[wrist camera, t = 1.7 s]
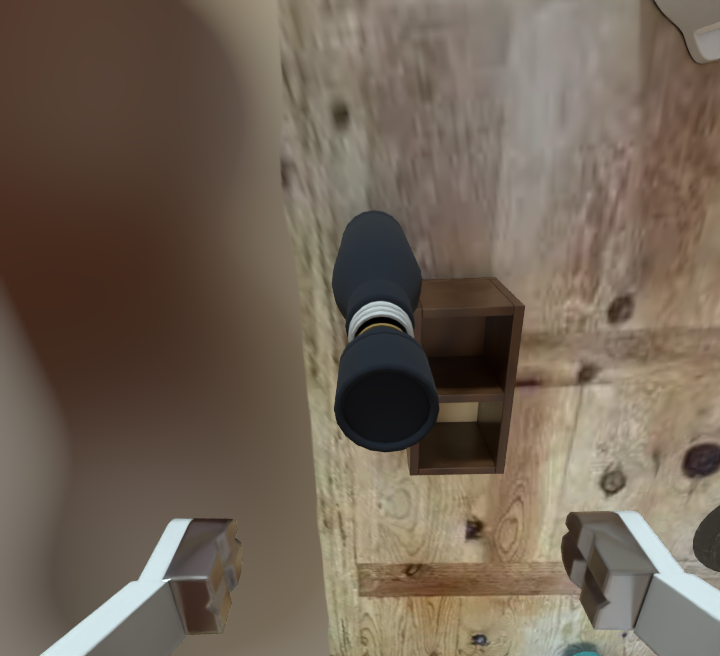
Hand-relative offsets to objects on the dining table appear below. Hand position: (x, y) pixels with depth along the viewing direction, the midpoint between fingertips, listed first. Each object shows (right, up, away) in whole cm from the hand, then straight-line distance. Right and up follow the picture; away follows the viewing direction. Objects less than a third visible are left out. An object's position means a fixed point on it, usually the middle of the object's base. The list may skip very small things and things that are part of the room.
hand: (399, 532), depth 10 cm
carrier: (+9, +2, +37) cm, 39 cm away
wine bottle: (0, +14, +32) cm, 35 cm away
